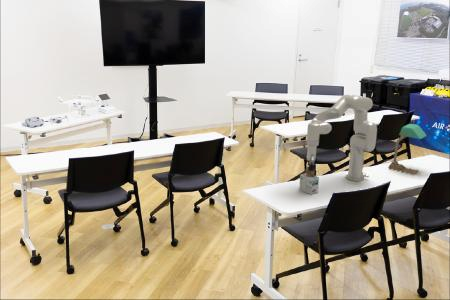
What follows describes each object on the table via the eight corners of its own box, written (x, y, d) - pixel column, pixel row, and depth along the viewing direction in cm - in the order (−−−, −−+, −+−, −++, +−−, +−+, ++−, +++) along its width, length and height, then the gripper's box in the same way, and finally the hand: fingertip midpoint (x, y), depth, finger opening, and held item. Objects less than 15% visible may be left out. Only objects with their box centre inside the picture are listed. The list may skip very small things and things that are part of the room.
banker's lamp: (393, 165, 351) (400, 121, 341) (421, 171, 338) (428, 126, 328) (386, 170, 339) (392, 124, 329) (414, 176, 326) (421, 129, 316)
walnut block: (313, 174, 292) (314, 167, 290) (313, 177, 287) (314, 169, 285) (305, 174, 292) (306, 166, 291) (305, 176, 287) (306, 169, 286)
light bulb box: (318, 192, 291) (319, 176, 288) (311, 194, 287) (312, 179, 283) (305, 187, 298) (306, 172, 295) (298, 189, 294) (299, 174, 291)
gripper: (306, 138, 292) (304, 163, 297) (307, 145, 275) (305, 172, 280) (317, 139, 291) (315, 164, 296) (319, 146, 275) (317, 172, 280)
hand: (310, 167), depth 288 cm, fingers open, 9 cm apart
